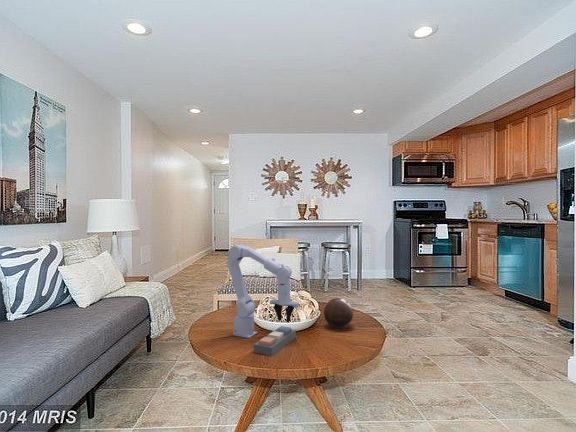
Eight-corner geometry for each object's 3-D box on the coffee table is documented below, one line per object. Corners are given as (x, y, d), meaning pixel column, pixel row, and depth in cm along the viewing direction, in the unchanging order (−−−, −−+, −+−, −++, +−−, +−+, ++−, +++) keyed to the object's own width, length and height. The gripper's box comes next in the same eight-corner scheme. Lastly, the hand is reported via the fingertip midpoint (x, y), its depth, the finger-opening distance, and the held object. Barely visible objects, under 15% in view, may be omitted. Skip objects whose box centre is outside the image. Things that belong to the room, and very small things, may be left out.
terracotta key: (259, 346, 148) (259, 340, 148) (265, 342, 153) (265, 336, 152) (269, 348, 146) (269, 342, 146) (275, 344, 150) (275, 338, 150)
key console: (253, 352, 148) (253, 344, 148) (279, 334, 169) (279, 327, 169) (271, 356, 144) (271, 347, 144) (295, 337, 165) (295, 330, 165)
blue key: (276, 334, 162) (276, 329, 162) (281, 331, 167) (281, 325, 167) (286, 336, 160) (286, 330, 160) (291, 332, 165) (291, 327, 165)
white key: (268, 340, 155) (268, 334, 155) (273, 336, 160) (273, 331, 160) (278, 341, 153) (278, 336, 153) (283, 338, 158) (283, 332, 157)
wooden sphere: (355, 332, 172) (355, 302, 172) (325, 332, 173) (325, 302, 172) (350, 322, 187) (350, 295, 187) (322, 322, 188) (322, 295, 187)
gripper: (266, 292, 163) (266, 321, 163) (294, 295, 157) (294, 325, 157) (273, 289, 169) (273, 317, 169) (300, 292, 163) (300, 321, 163)
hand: (284, 321), depth 163 cm, fingers open, 4 cm apart
